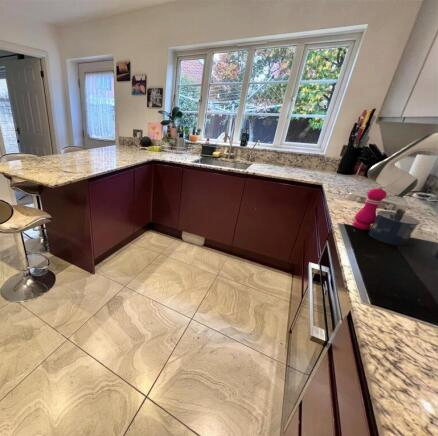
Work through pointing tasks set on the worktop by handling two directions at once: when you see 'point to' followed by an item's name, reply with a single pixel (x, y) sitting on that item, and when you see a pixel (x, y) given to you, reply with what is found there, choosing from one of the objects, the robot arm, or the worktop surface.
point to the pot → (391, 231)
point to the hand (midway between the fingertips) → (372, 204)
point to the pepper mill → (369, 208)
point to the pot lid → (398, 217)
